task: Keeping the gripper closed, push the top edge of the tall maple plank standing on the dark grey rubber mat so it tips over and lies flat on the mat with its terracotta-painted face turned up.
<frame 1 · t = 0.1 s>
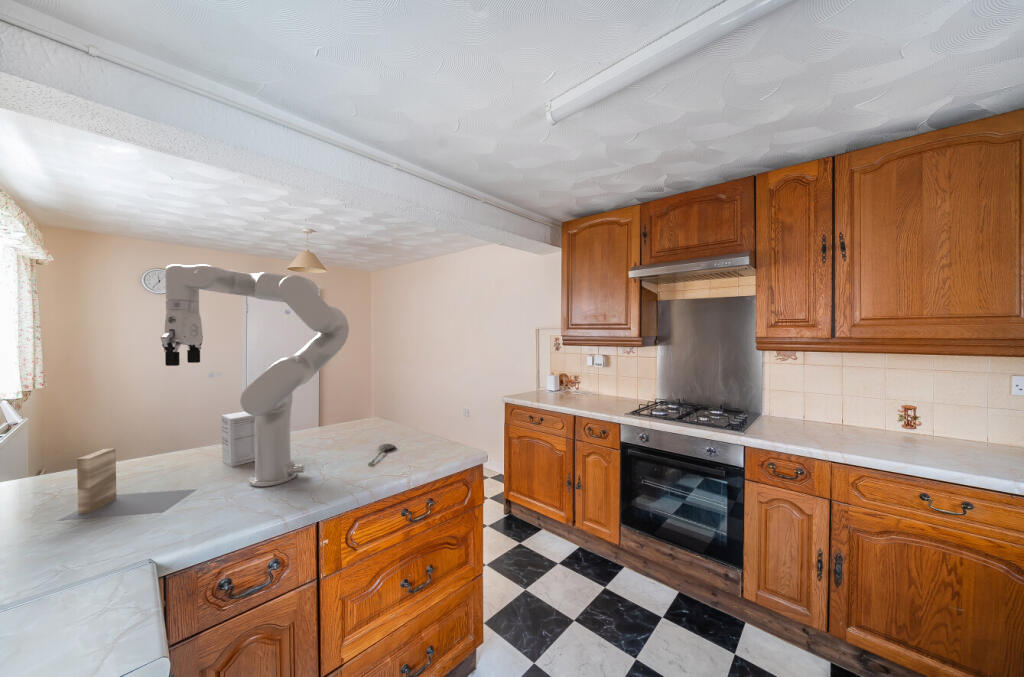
hand: (183, 364, 113), 37 cm above the counter, fingers open, 9 cm apart
soupspoon: (380, 457, 141), on the counter
rubber mat: (133, 505, 100), on the counter
supplement box: (241, 461, 134), on the counter
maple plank: (98, 505, 99), resting on rubber mat
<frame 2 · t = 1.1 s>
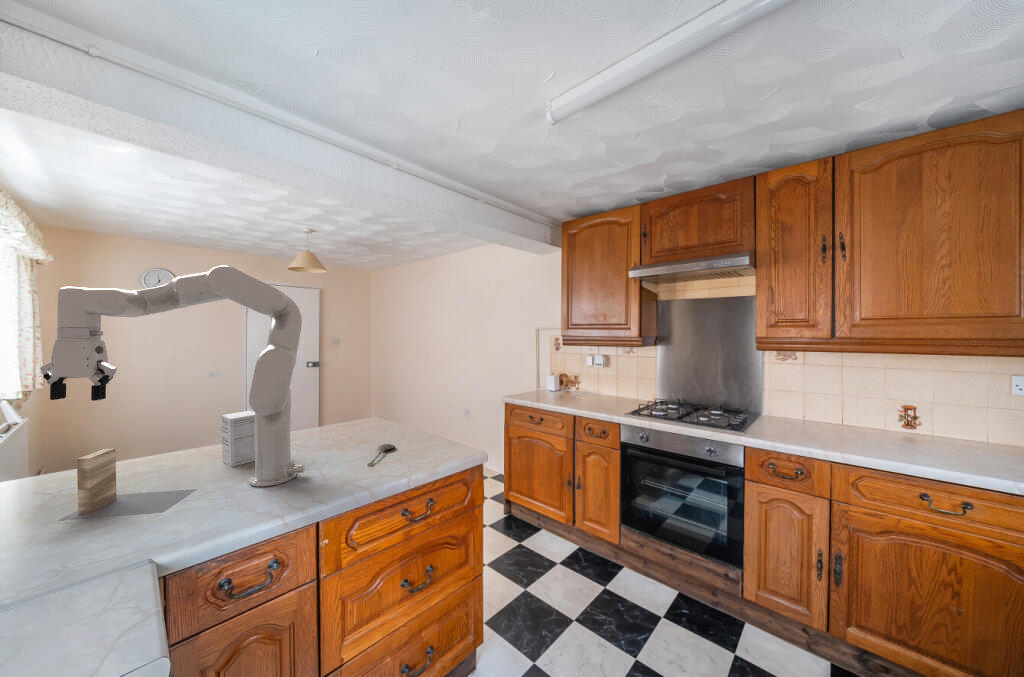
hand: (78, 399, 99), 29 cm above the counter, fingers open, 9 cm apart
nothing on the counter moved.
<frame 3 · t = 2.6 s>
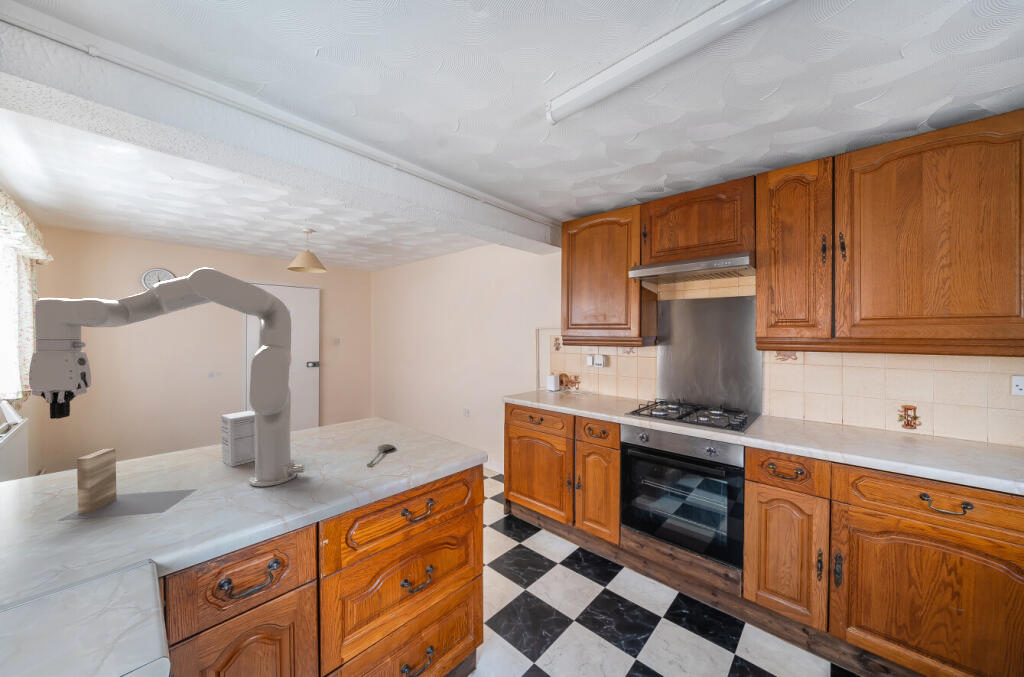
hand: (60, 417, 97), 24 cm above the counter, fingers closed
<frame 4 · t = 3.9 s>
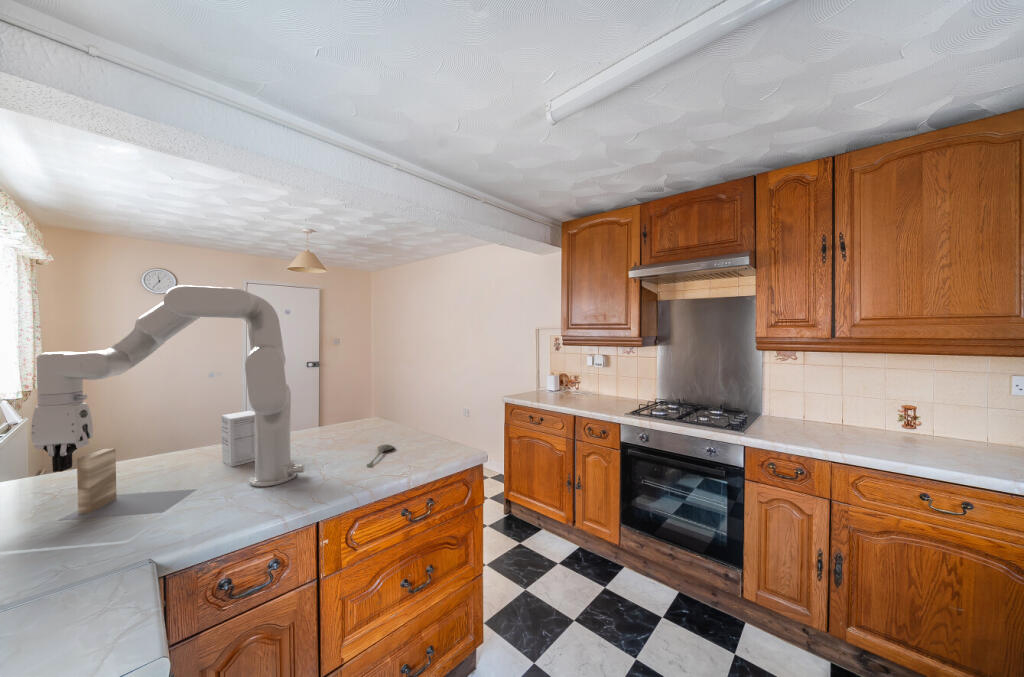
hand: (62, 469, 97), 11 cm above the counter, fingers closed
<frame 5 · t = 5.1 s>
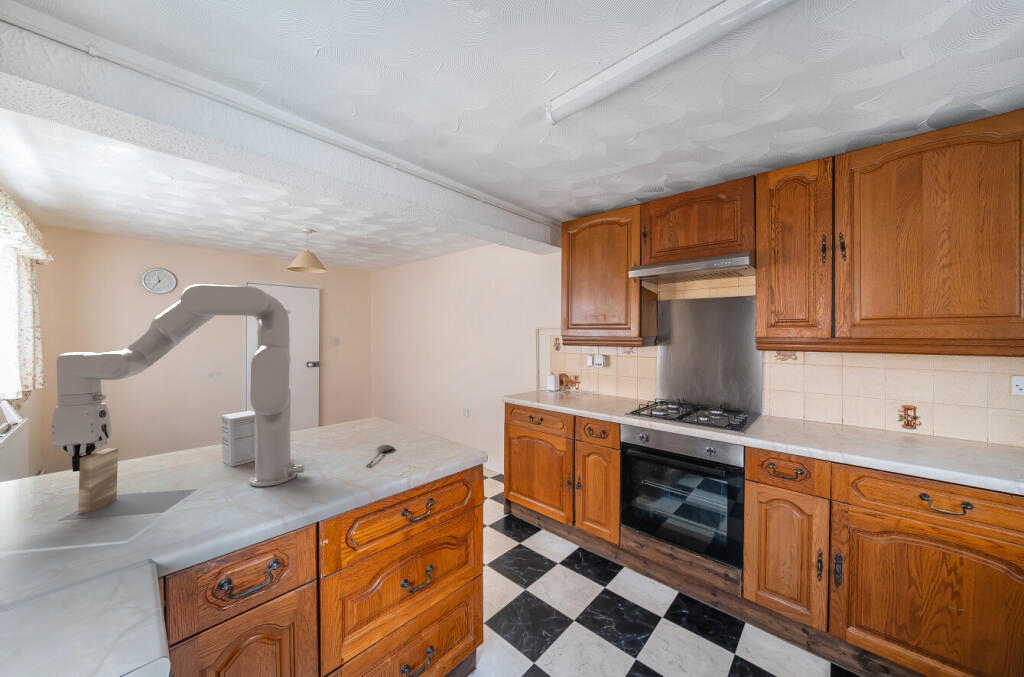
hand: (82, 469, 98), 10 cm above the counter, fingers closed
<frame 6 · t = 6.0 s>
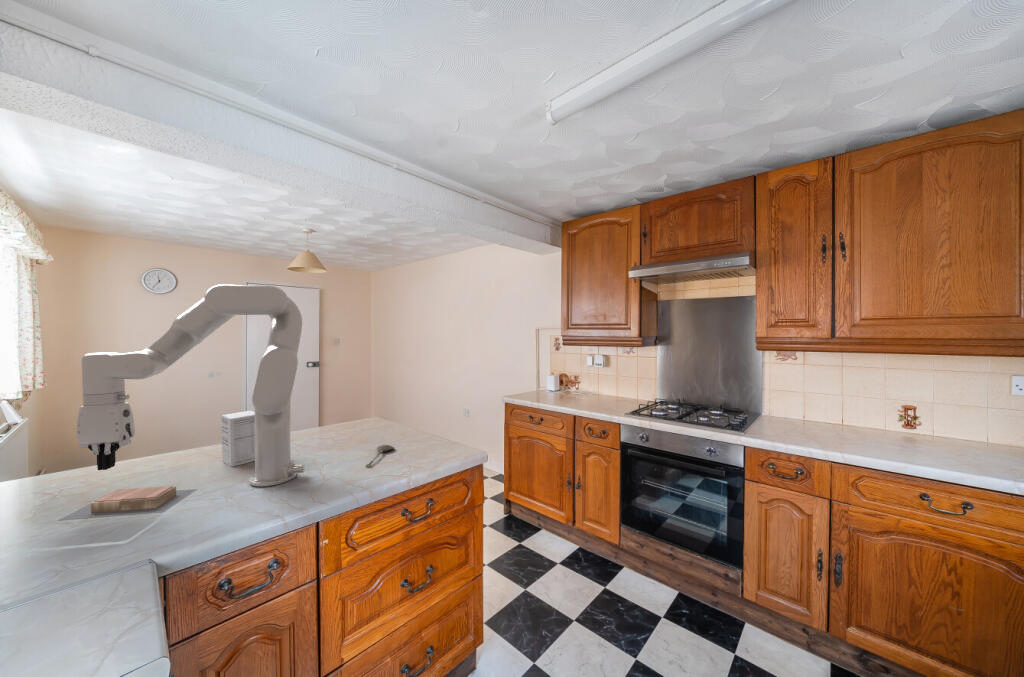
hand: (106, 468, 99), 10 cm above the counter, fingers closed
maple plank: (104, 500, 99), point 2 cm above the counter, tilted 90°, touching rubber mat
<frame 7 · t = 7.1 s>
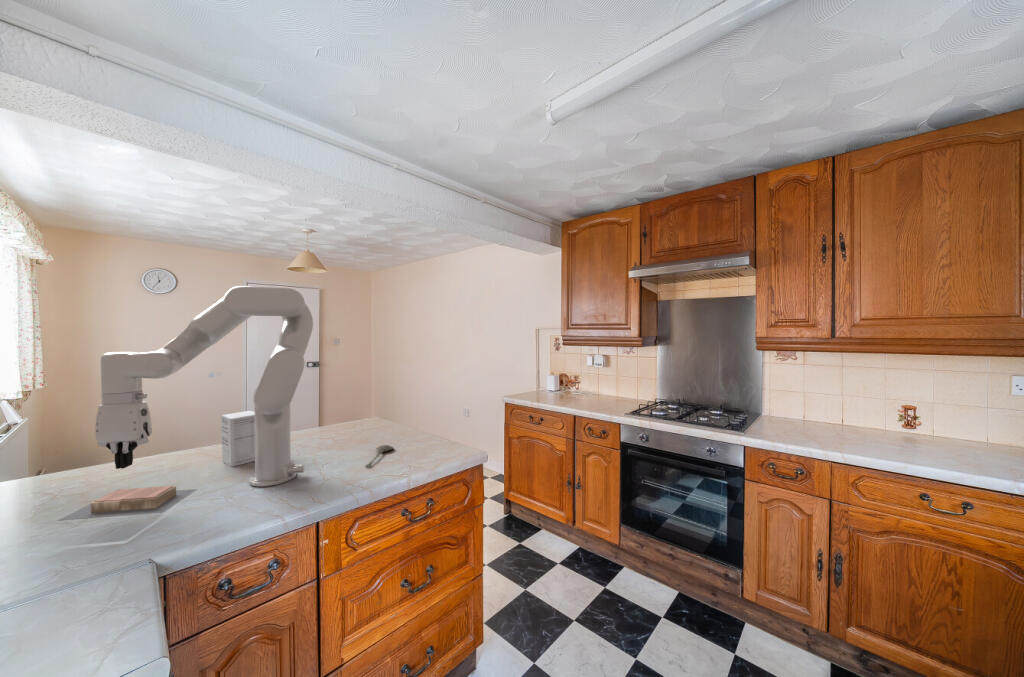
hand: (124, 466, 100), 11 cm above the counter, fingers closed
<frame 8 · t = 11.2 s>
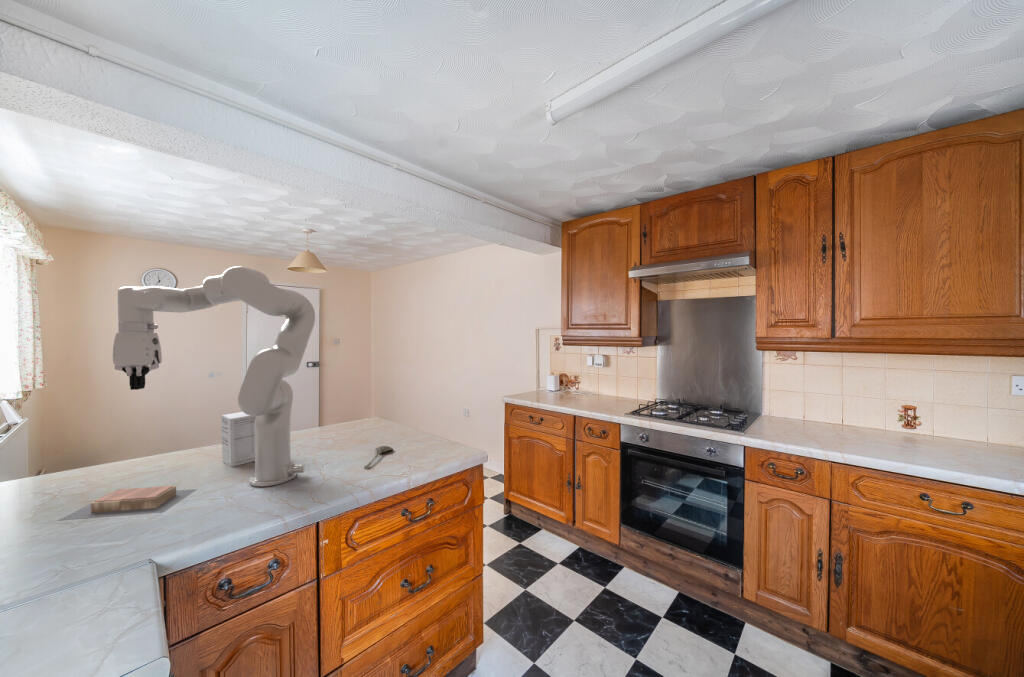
hand: (137, 388, 113), 29 cm above the counter, fingers closed
soupspoon: (377, 459, 138), on the counter
everything else where it was.
at the end: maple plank tilted 90°; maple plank touching rubber mat; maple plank inside the target area on the rubber mat (0.8 cm from its centre), point 1.7 cm above the rubber mat's base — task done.
